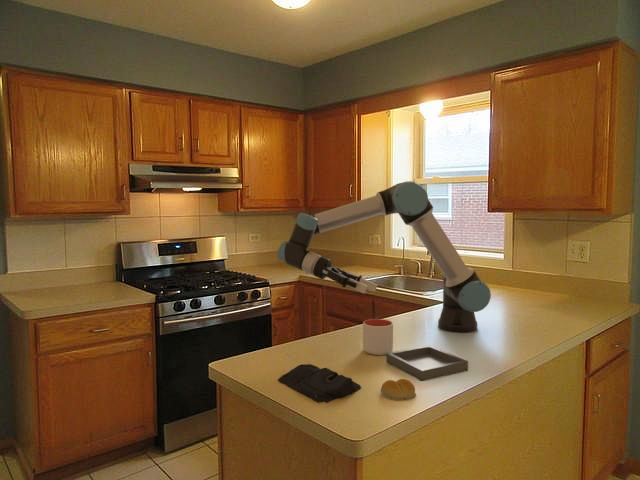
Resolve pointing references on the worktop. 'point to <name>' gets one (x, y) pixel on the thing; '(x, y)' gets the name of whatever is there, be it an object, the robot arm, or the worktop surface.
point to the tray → (426, 362)
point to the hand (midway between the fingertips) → (371, 289)
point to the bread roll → (398, 389)
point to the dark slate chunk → (319, 383)
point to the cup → (378, 336)
